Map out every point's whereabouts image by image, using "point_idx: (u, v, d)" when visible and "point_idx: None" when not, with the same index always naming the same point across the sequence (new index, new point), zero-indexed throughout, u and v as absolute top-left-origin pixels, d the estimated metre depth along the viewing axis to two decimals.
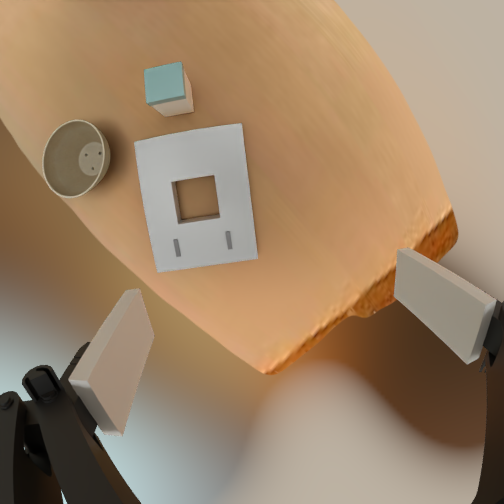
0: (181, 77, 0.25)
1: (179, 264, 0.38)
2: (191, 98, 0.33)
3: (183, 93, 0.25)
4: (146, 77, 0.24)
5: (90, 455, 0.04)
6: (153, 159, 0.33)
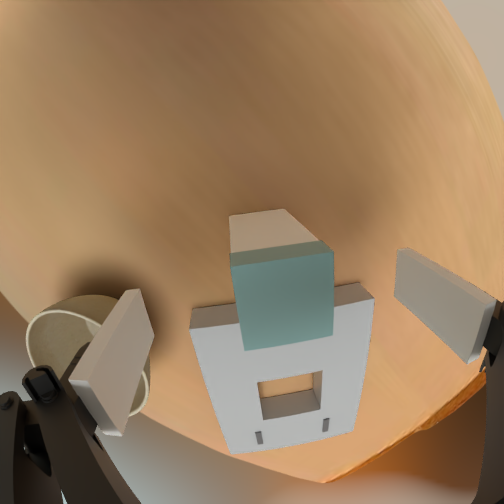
0: (331, 295, 0.12)
1: (259, 447, 0.25)
2: None
3: (330, 330, 0.12)
4: (239, 290, 0.11)
5: (90, 455, 0.04)
6: (227, 355, 0.21)
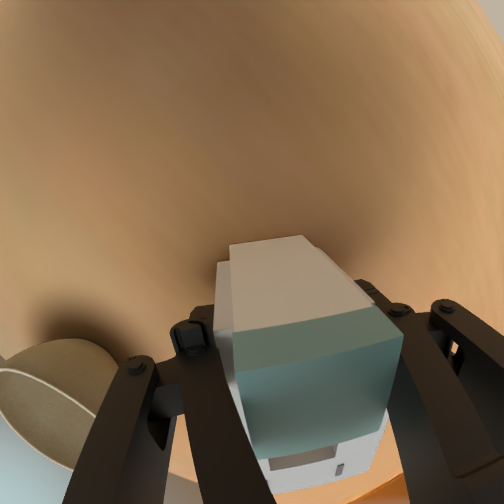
0: (387, 390, 0.07)
1: None
2: None
3: (377, 425, 0.07)
4: (251, 401, 0.06)
5: (234, 413, 0.06)
6: None
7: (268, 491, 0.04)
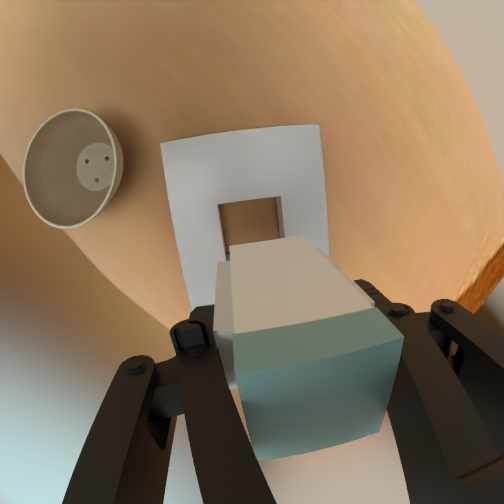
0: (388, 392, 0.07)
1: None
2: None
3: (377, 426, 0.07)
4: (251, 403, 0.06)
5: (234, 413, 0.06)
6: (190, 170, 0.23)
7: (268, 491, 0.04)
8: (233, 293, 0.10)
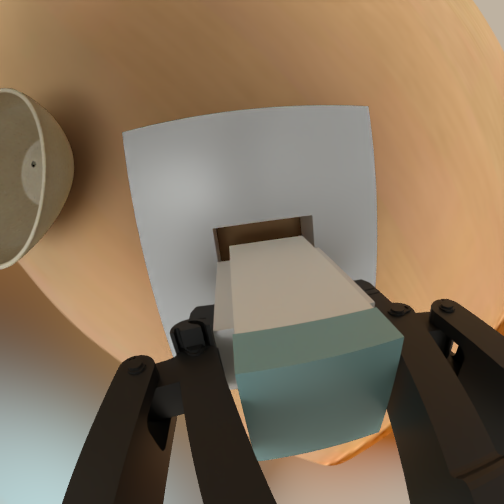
0: (388, 392, 0.07)
1: None
2: None
3: (377, 426, 0.07)
4: (251, 403, 0.06)
5: (234, 413, 0.06)
6: (168, 173, 0.14)
7: (268, 491, 0.04)
8: (233, 293, 0.10)
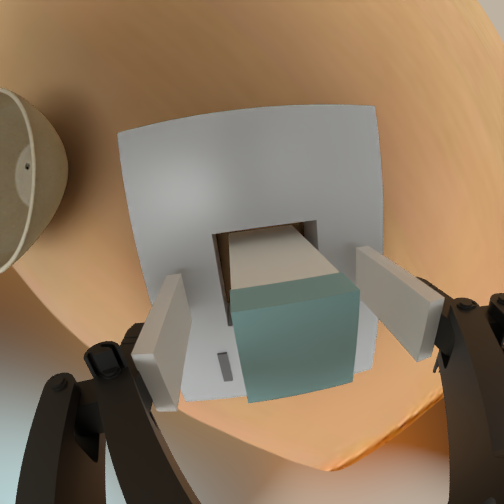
0: (353, 340, 0.09)
1: (228, 390, 0.18)
2: None
3: (350, 376, 0.10)
4: (243, 339, 0.09)
5: (151, 434, 0.05)
6: (165, 176, 0.14)
7: None
8: (231, 265, 0.12)
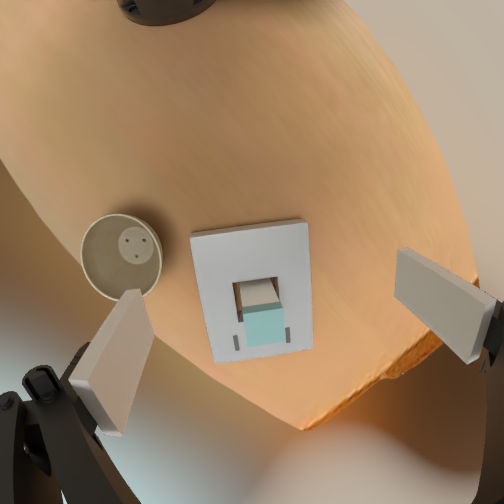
0: (283, 324, 0.29)
1: (237, 356, 0.37)
2: None
3: (284, 339, 0.29)
4: (246, 322, 0.28)
5: (90, 455, 0.04)
6: (212, 258, 0.33)
7: None
8: (241, 297, 0.32)
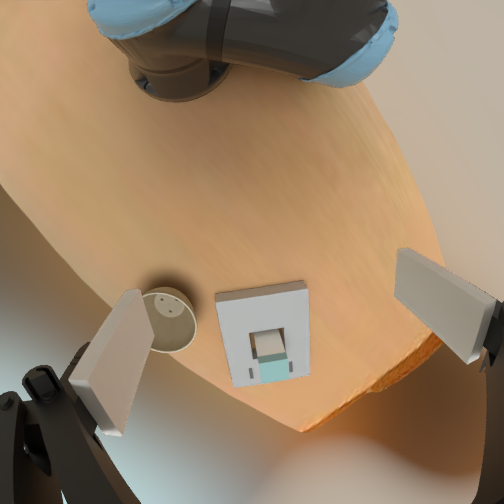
0: (287, 368, 0.38)
1: (251, 382, 0.47)
2: None
3: (288, 377, 0.39)
4: (261, 368, 0.38)
5: (90, 455, 0.04)
6: (233, 316, 0.43)
7: None
8: (256, 346, 0.41)
